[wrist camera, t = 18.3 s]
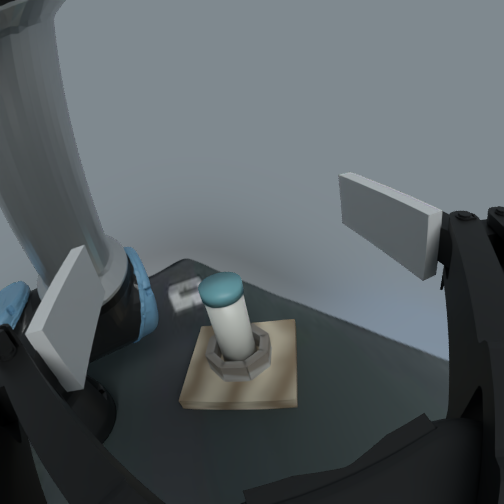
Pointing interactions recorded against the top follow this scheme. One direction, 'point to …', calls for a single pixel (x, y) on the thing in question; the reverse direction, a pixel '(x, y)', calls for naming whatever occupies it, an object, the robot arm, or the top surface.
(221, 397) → the collar base
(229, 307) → the canister
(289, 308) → the top surface
